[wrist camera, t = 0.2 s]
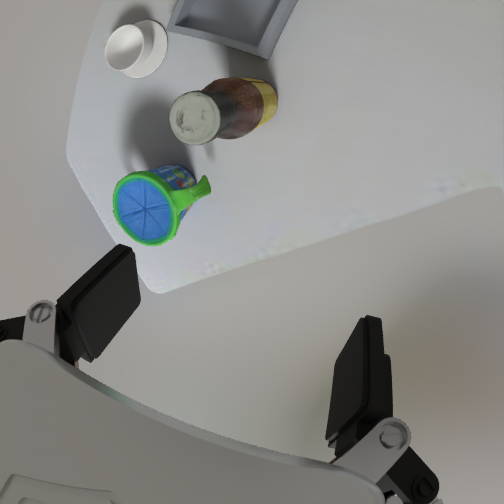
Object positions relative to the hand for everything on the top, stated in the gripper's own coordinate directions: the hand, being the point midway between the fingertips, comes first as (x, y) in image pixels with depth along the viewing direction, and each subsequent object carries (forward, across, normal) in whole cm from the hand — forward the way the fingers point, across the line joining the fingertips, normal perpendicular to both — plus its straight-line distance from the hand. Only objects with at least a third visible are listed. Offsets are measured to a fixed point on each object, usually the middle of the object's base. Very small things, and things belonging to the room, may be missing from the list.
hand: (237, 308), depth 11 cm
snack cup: (+31, +19, +9) cm, 37 cm away
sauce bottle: (+31, +8, -5) cm, 32 cm away
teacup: (+31, +27, -13) cm, 43 cm away
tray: (+30, +12, -21) cm, 39 cm away
